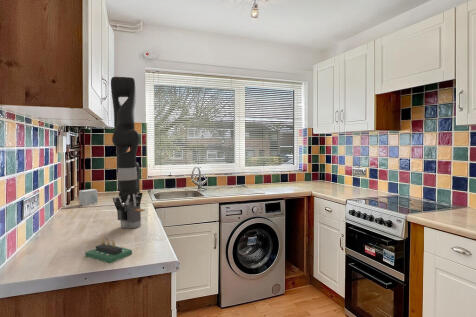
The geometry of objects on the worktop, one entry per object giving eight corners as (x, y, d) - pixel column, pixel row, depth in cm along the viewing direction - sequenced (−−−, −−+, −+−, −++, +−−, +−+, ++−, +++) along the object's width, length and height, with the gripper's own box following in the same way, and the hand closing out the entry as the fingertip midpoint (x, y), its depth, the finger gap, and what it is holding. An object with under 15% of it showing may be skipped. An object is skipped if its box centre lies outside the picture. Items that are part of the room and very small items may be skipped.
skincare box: (83, 206, 203) (82, 191, 203) (79, 205, 207) (78, 190, 207) (98, 203, 211) (97, 189, 211) (93, 202, 215) (93, 188, 215)
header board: (85, 256, 112) (84, 240, 111) (108, 247, 120) (107, 233, 120) (109, 263, 105) (109, 246, 104) (132, 253, 114) (131, 238, 113)
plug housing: (117, 219, 124) (117, 205, 124) (125, 217, 127) (124, 204, 127) (139, 224, 118) (139, 209, 117) (146, 221, 121) (146, 207, 121)
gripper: (134, 175, 130) (136, 213, 131) (106, 179, 118) (108, 221, 119) (147, 176, 126) (148, 215, 128) (119, 181, 114) (121, 224, 115)
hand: (129, 218), depth 123 cm, fingers closed on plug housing, 3 cm apart
